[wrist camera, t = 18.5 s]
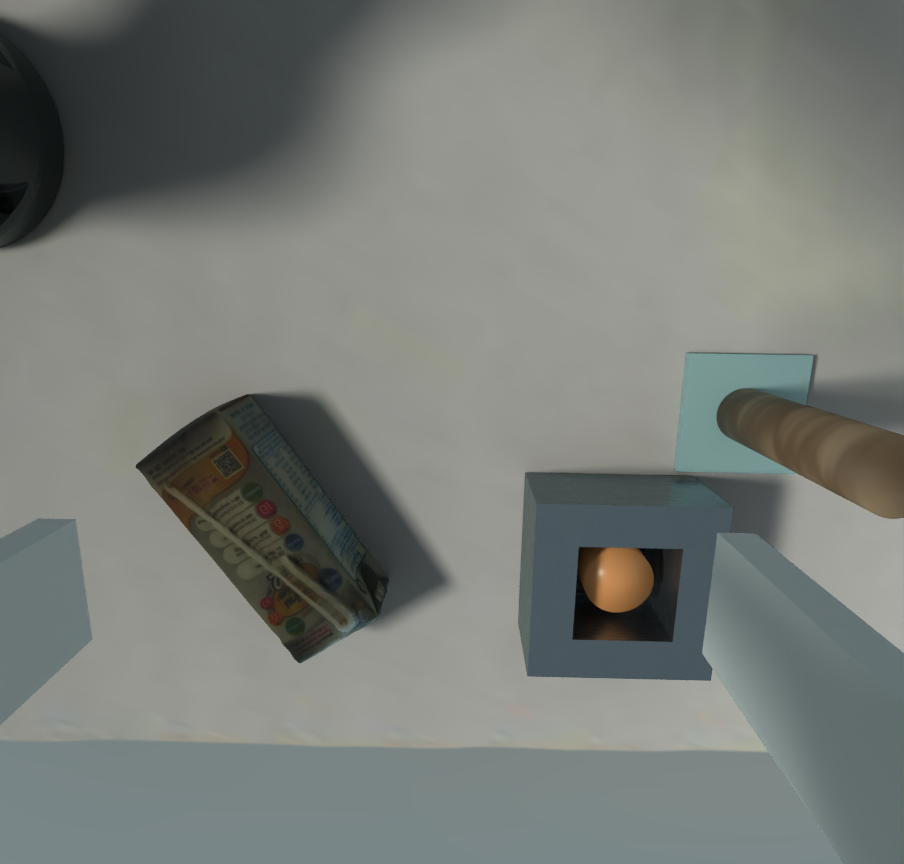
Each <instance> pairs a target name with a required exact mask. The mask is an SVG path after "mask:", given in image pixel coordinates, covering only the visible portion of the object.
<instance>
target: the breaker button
mask: <svg viewBox="0 0 904 864" xmlns="http://www.w3.org/2000/svg"><path fill="white" fill-rule="evenodd" d="M577 573H578V575H579V578H580V580H581V582H582V585H583V587H584V589H585V592H586V594H587V596H588V598H589V599H590V601H591V602H592V603H593V604H594V605H596V606H597V607H599V608H600V609H602V610H605V611H609V612H626V611H629V610H632V609H634V608H636V607H638V606H639V605H640V604H642V603H643V602H644V601H645V600H646V599H647V597H648V596H649V594H650V592H651V590H652V587H653V583H654V575H653V571H652V568H651V566H650V564H649V562H648V561H647V560H646V558H645V557H644V555H643V554H642V552H641V551H640V550H639V548H609V547H579V552H578V567H577Z"/></svg>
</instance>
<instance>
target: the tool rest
mask: <svg viewBox="0 0 904 864" xmlns="http://www.w3.org/2000/svg"><path fill="white" fill-rule="evenodd" d="M813 357H814V356H813V355H793V354H735V353H686V362H685V371H684V381H683V390H682V399H681V409H680V418H679V427H678V437H677V446H676V456H675V465H674V470H675V471H677V472H721V473H773V474H795V472H793V471H791V470H790V469H788V468H786V467H784V466H782V465H780V464H778V463H776V462H774V461H772V460H770V459H768V458H767V457H765V456H763V455H761V454H759V453H757V452H755V451H753V450H751V449H749V448H747V447H745V446H743V445H742V444H740V443H738V442H736V441H734V440H732V439H730V438H728V437H727V436H725V435H724V434H723V433H722V432H721V431H720V429H719V427H718V424H717V419H716V416H717V410H718V407H719V405H720V403H721V401H722V400H723V399H724V398H725V397H726V396H727V395H728V394H730V393H731V392H733V391H735V390H738V389H742V388H751V389H755V390H758V391H761V392H765V393H768V394H771V395H774V396H778V397H781V398H784V399H787V400H790V401H794V402H797V403H800V404H803V405H806V402H807V395H808V389H809V383H810V376H811V370H812V363H813Z"/></svg>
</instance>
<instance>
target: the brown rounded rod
mask: <svg viewBox="0 0 904 864" xmlns="http://www.w3.org/2000/svg"><path fill="white" fill-rule="evenodd" d="M716 419H717V424H718V427H719V429H720V431H721V432H722V433H723V434H724V435H725V436H727V437H728V438H730V439H732V440H734V441H736V442H738V443H740V444H742V445H743V446H745V447H747V448H749V449H751V450H753V451H755V452H757V453H759V454H761V455H763V456H765V457H767V458H768V459H770V460H772V461H774V462H776V463H778V464H780V465H782V466H784V467H786V468H788V469H790V470H791V471H793V472H795V473H797V474H799V475H801V476H803V477H805V478H807V479H809V480H811V481H813V482H814V483H816V484H818V485H820V486H822V487H824V488H826V489H828V490H830V491H832V492H834V493H836V494H837V495H839V496H841V497H843V498H845V499H847V500H849V501H851V502H853V503H855V504H857V505H859V506H860V507H862V508H864V509H866V510H868V511H870V512H872V513H874V514H876V515H878V516H881V517H884V518H890V519H898V518H904V436H903V435H900V434H897V433H894V432H890V431H887V430H884V429H881V428H878V427H874V426H871V425H868V424H865V423H861V422H858V421H855V420H852V419H848V418H845V417H842V416H839V415H836V414H832V413H829V412H826V411H823V410H819V409H816V408H813V407H810V406H807V405H803V404H800V403H797V402H794V401H790V400H787V399H784V398H781V397H778V396H774V395H771V394H768V393H765V392H761V391H758V390H755V389H751V388H742V389H738V390H735V391H733V392H731V393H730V394H728V395H727V396H726V397H725V398H724V399H723V400H722V401H721V403H720V405H719V407H718V410H717V416H716Z"/></svg>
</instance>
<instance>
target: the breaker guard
mask: <svg viewBox="0 0 904 864" xmlns="http://www.w3.org/2000/svg"><path fill="white" fill-rule="evenodd" d="M733 510H734V508H733V507H732V506H731V505H729V504H728V503H727V502H726V501H724V500H723V499H722V498H720V497H719V496H718V495H717V494H715V493H714V492H713V491H711V490H710V489H709V488H708V487H706V486H705V485H704V484H703V483H701V482H700V481H699V480H697V479H696V478H695V477H694V476H672V475H621V474H569V473H525V486H524V508H523V530H522V551H521V573H520V595H519V616H518V624H519V630H520V636H521V642H522V647H523V653H524V659H525V664H526V670H527V676H537V677H580V678H623V679H666V680H709V681H711V675H712V667H711V666H710V664H709V663H708V661H707V660H706V658H705V657H704V655H703V654H702V650H703V642H704V634H705V626H706V618H707V611H708V603H709V595H710V587H711V579H712V571H713V564H714V556H715V548H716V540H717V533H730V532H731V525H732V517H733ZM579 547H609V548H647V551H646V560H647V561H648V562H649V564H650V566H651V568H652V571H653V575H654V583H653V587H652V590H651V592H650V594H649V596H648V597H647V599H646V600H645V601H644V602H643V603H642V604H640V605H639V606H638V607H636V608H634V609H632V610H629V611H626V612H609V611H605V610H602V609H600V608H599V607H597V606H596V605H594V604H593V603H592V602H591V601H590V599H589V598H588V596H587V594H586V592H585V591H576V581H577V567H578V552H579Z"/></svg>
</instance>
